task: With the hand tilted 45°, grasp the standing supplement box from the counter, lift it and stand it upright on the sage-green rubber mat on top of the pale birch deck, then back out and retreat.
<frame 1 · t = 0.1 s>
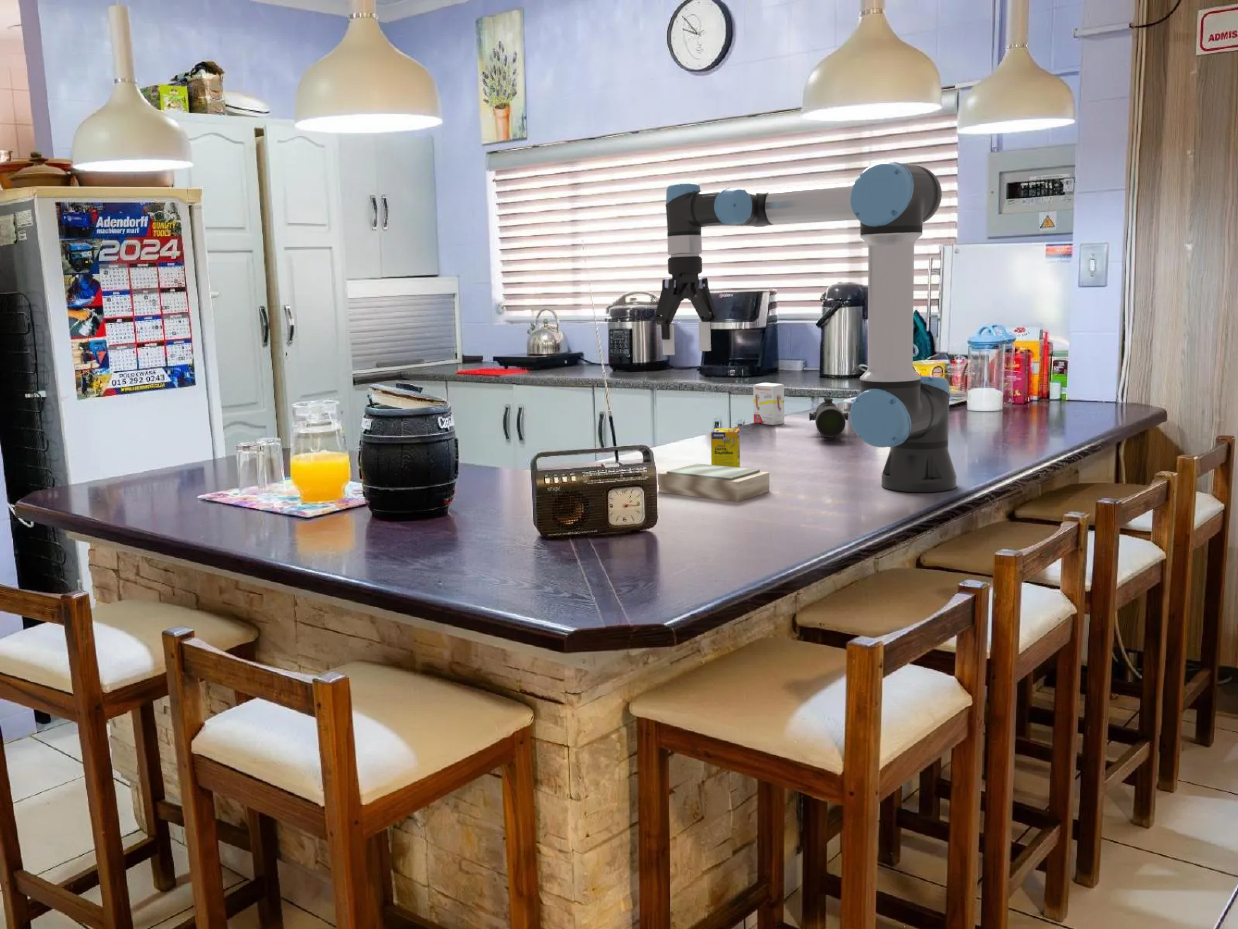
hand: (687, 353, 249), 28 cm above the counter, tool pointing down, fingers open, 13 cm apart
supplement box: (726, 479, 249), on the counter
ink box: (768, 424, 335), on the counter
birch deck: (713, 491, 235), on the counter
rifle scope: (828, 435, 308), on the counter
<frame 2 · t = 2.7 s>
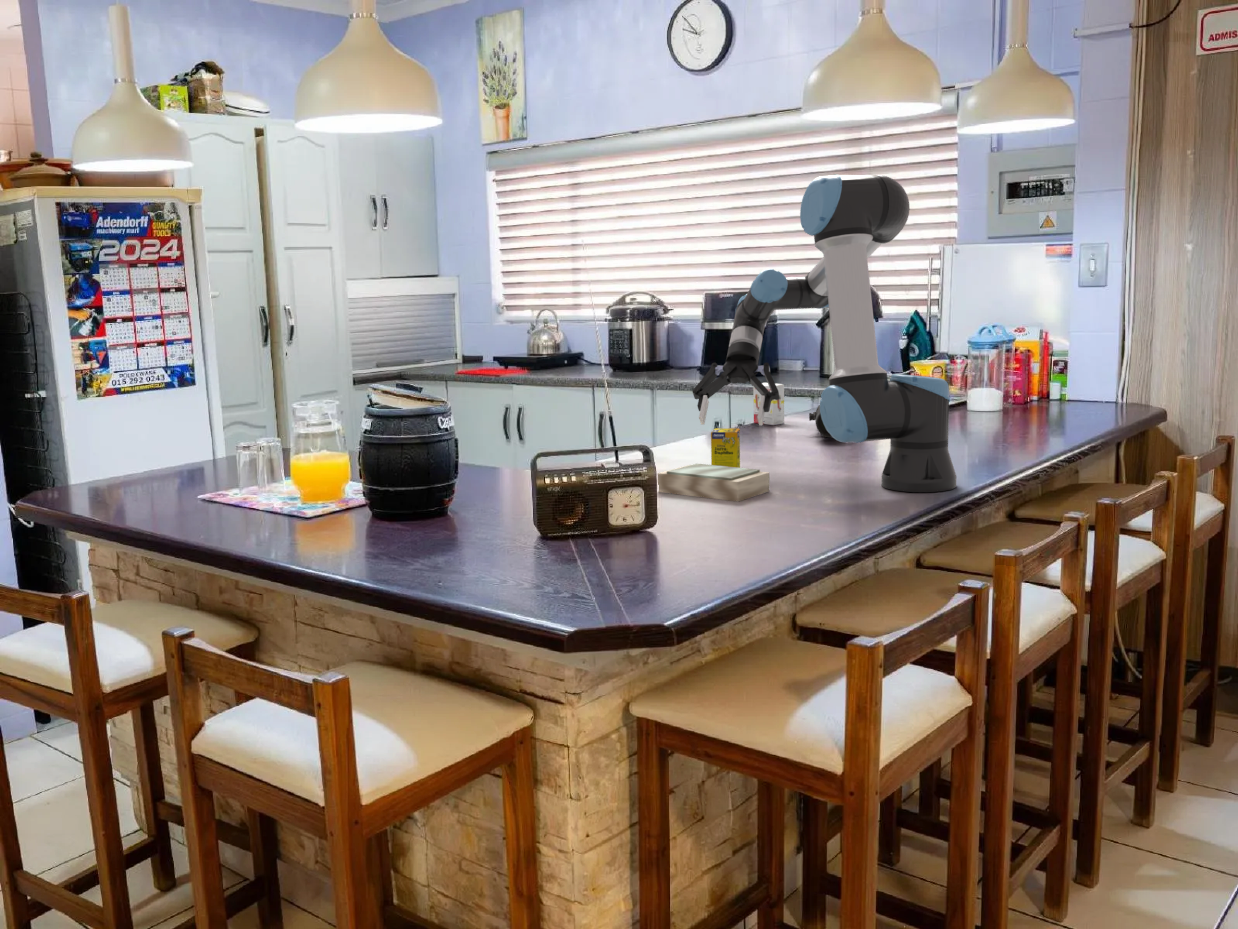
hand: (730, 421, 254), 12 cm above the counter, tool tilted 45°, fingers open, 13 cm apart
nothing on the counter moved.
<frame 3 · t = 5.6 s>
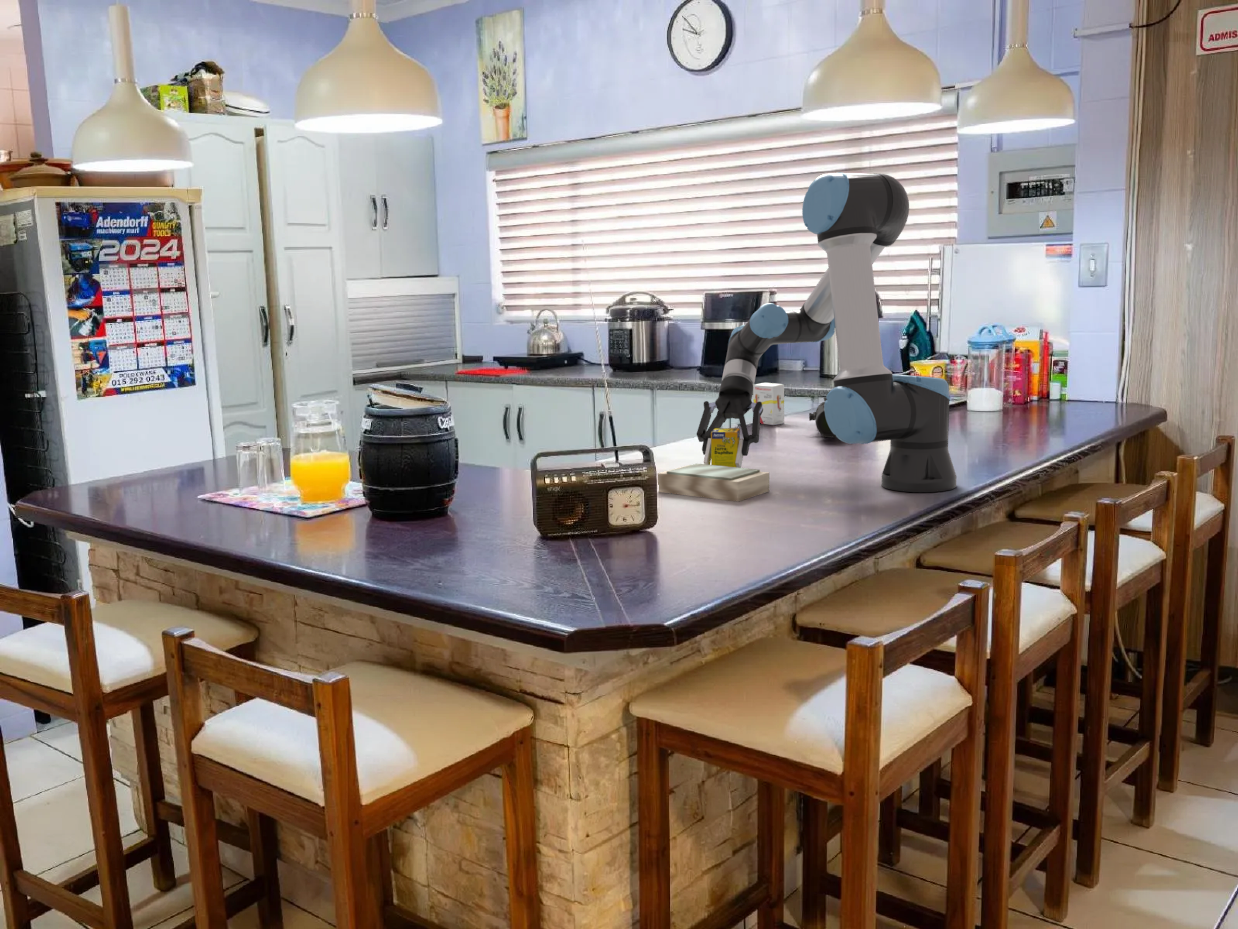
hand: (722, 465, 245), 3 cm above the counter, tool tilted 45°, fingers closed on supplement box, 6 cm apart
supplement box: (726, 479, 249), on the counter, touching gripper
everything else where it was.
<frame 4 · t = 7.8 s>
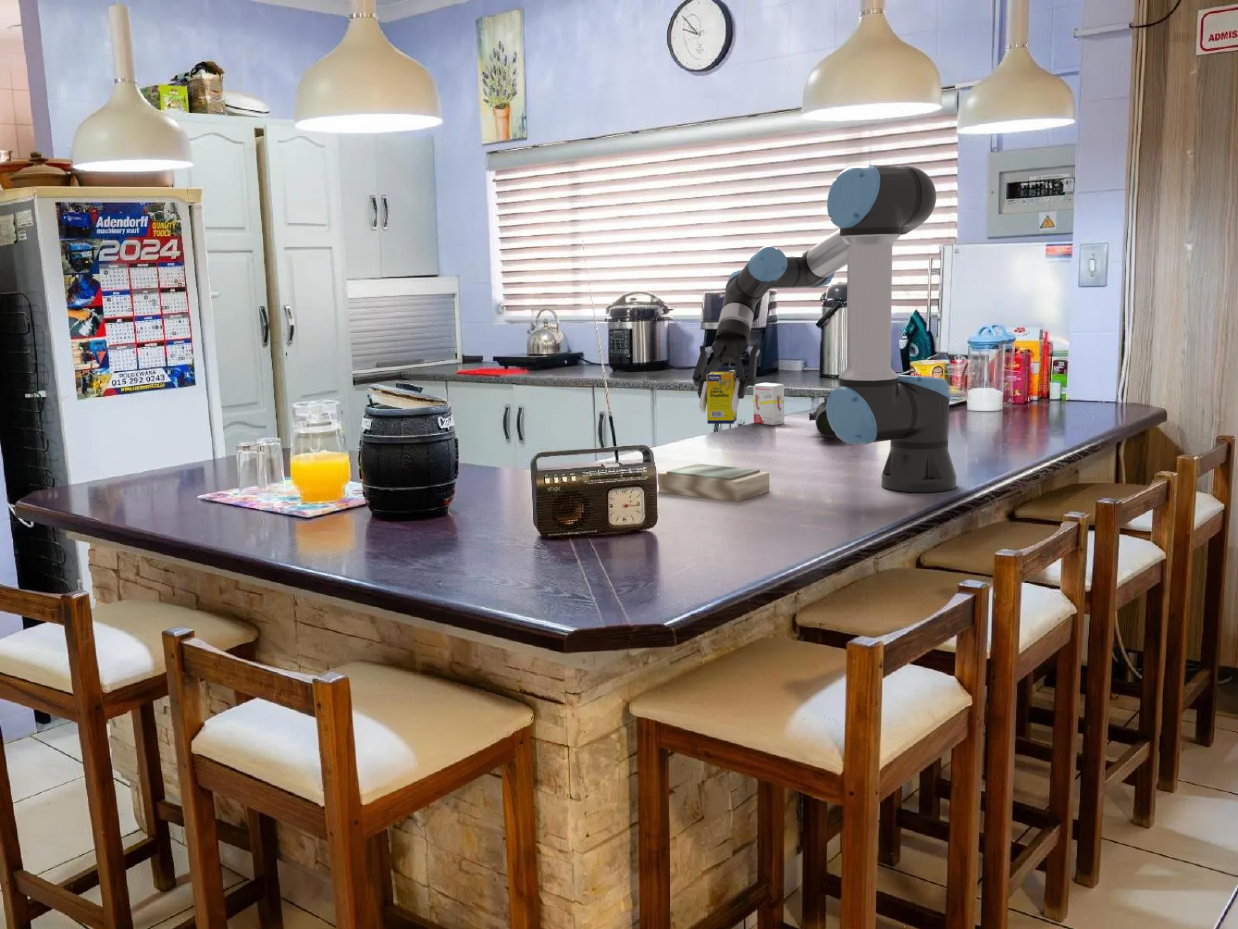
hand: (717, 408, 242), 16 cm above the counter, tool tilted 45°, fingers closed on supplement box, 6 cm apart
supplement box: (722, 423, 246), point 13 cm above the counter, touching gripper
everything else where it was.
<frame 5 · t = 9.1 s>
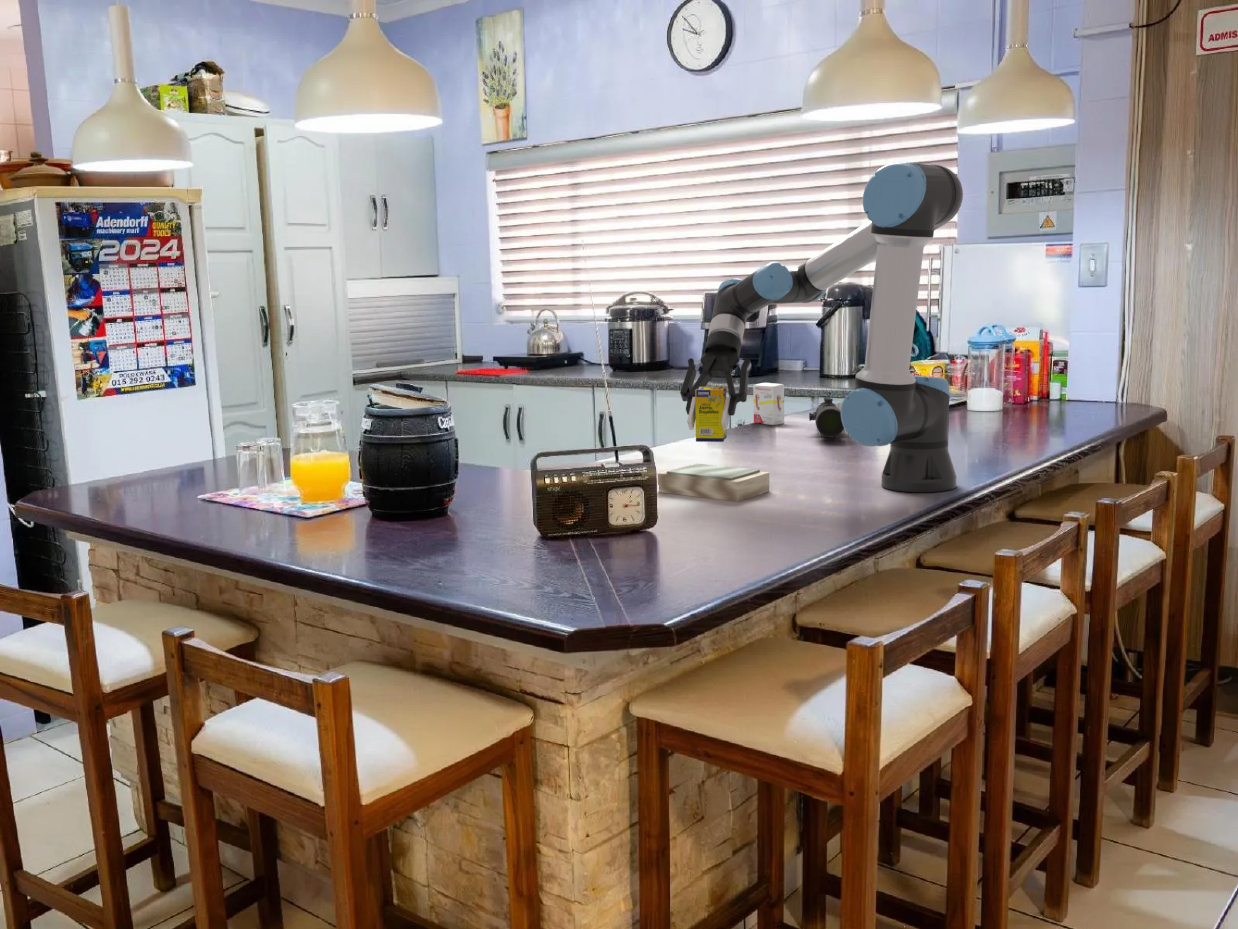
hand: (707, 425, 229), 14 cm above the counter, tool tilted 45°, fingers closed on supplement box, 6 cm apart
supplement box: (711, 440, 233), point 11 cm above the counter, touching gripper
everything else where it was.
when the fingers open (9 cm above the counter, at t = 10.2 s): supplement box drops 1 cm, resting on birch deck.
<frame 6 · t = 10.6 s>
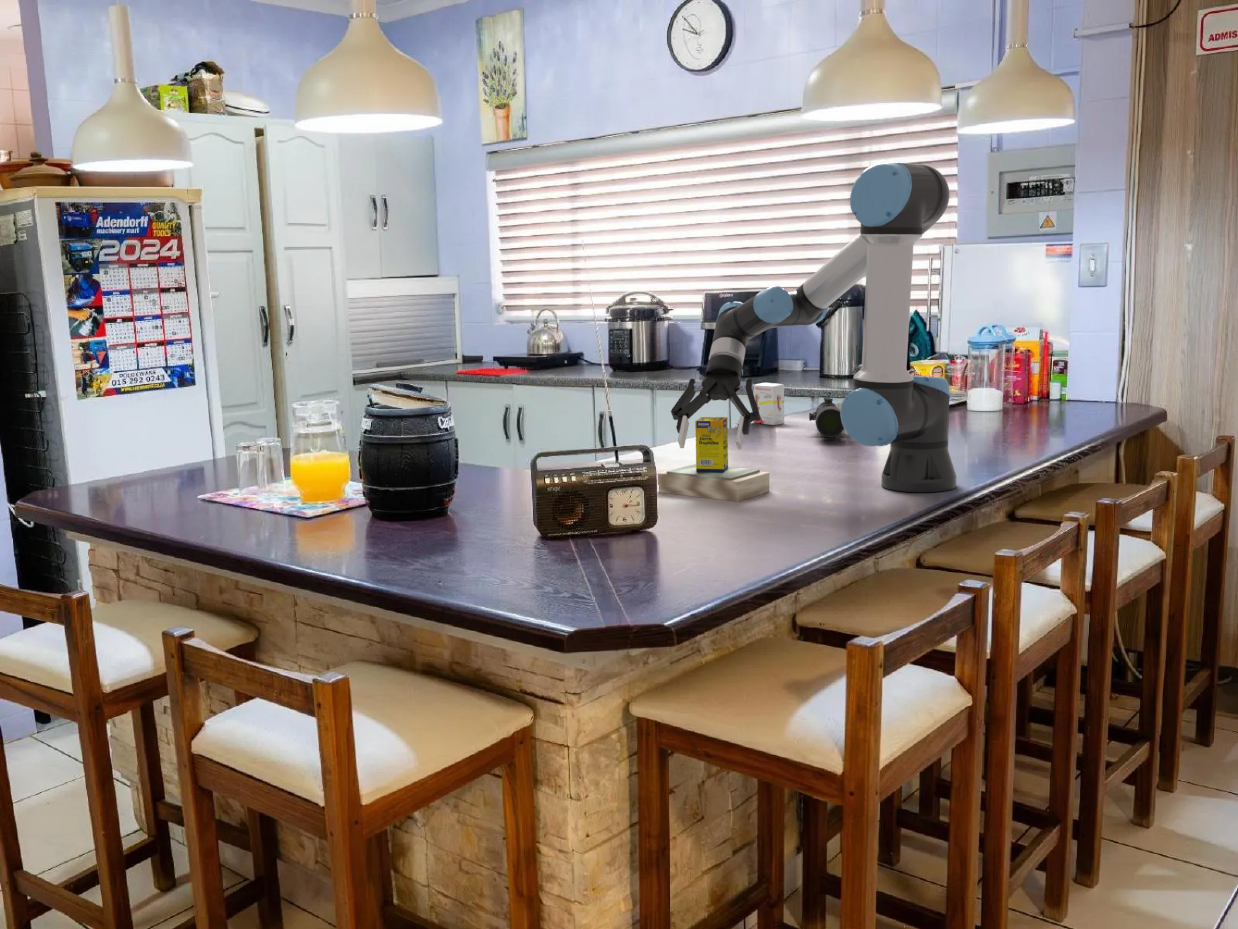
hand: (709, 445, 230), 10 cm above the counter, tool tilted 45°, fingers open, 11 cm apart
supplement box: (712, 471, 234), point 4 cm above the counter, touching birch deck
everything else where it was.
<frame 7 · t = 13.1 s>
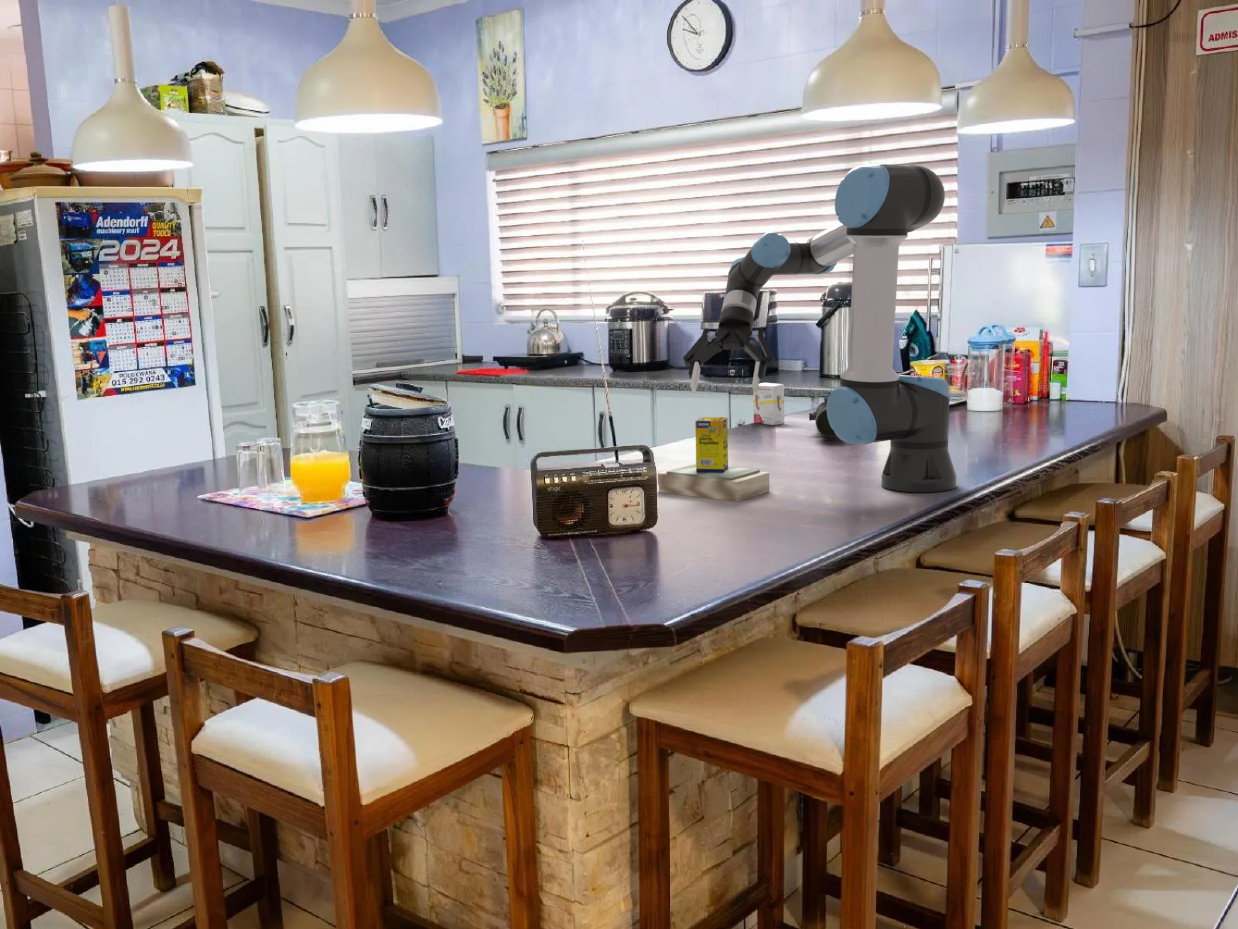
hand: (723, 389, 241), 20 cm above the counter, tool tilted 45°, fingers open, 13 cm apart
nothing on the counter moved.
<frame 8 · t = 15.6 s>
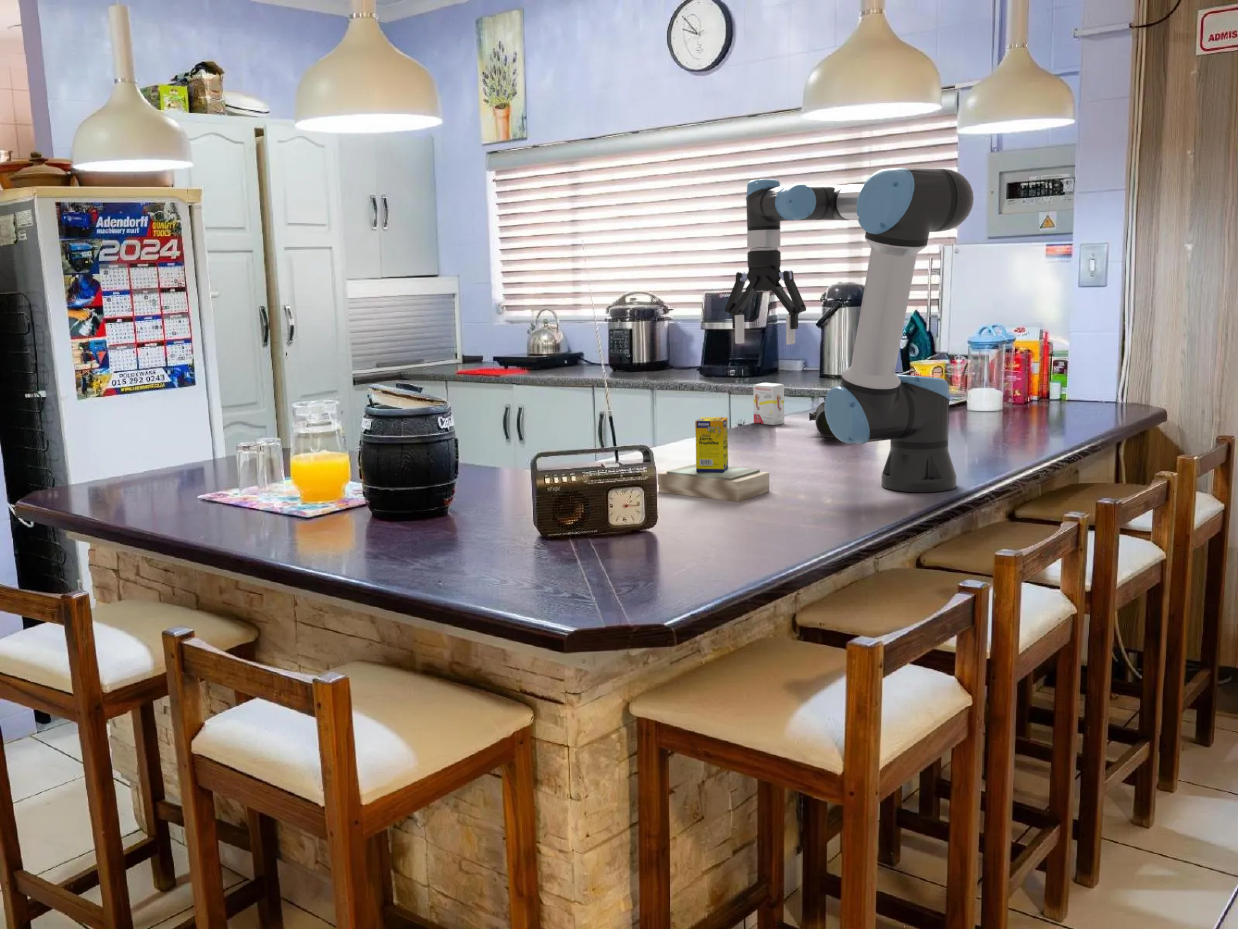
hand: (764, 343, 257), 29 cm above the counter, tool pointing down, fingers open, 13 cm apart
nothing on the counter moved.
at the end: supplement box inside the target area on the birch deck (0.2 cm from its centre), point 4.3 cm above the birch deck's base; supplement box tilted 0°; the gripper is holding nothing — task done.
